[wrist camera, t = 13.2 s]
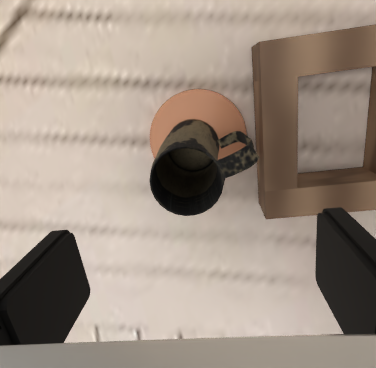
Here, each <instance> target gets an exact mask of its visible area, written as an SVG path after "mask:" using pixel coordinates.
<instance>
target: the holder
mask: <svg viewBox="0 0 376 368" xmlns="http://www.w3.org/2000/svg"><path fill="white" fill-rule="evenodd" d="M252 63H253V85H254V108H255V130H256V152H257V154H258V156H259V157H260V158H259V159H258V161H257V174H258V196H259V204H260V206H261V209H262V211H263V213H264V216H265V218H266V219H274V218H286V217H297V216H309V215H318V213H322V211H323V209H326V208H338V207H341V208H343V209H344V210H345V211H346V212H355V211H366V210H376V25H370V26H363V27H356V28H350V29H343V30H336V31H330V32H323V33H316V34H309V35H303V36H296V37H289V38H283V39H276V40H269V41H263V42H259V43H257V44H256V45H254V46H253V47H252ZM365 67H373V69H372V79H371V90H370V101H369V111H368V122H367V133H366V144H365V154H364V165H363V167H358V168H348V169H338V170H328V171H319V172H309V173H299V174H297V144H298V77H299V76H306V75H314V74H321V73H328V72H336V71H343V70H351V69H358V68H365Z"/></svg>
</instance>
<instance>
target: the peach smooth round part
mask: <svg viewBox="0 0 376 368" xmlns="http://www.w3.org/2000/svg"><path fill="white" fill-rule="evenodd" d="M187 119H198V120H202V121H204V122H206V123H208V124H209V125H210V126H212V127H213V129H214V130H215V131H216V133H217V135H218V138H219V139H221V138H222V137H224V136H226V135H228V134H230V133H232V132H234V131H241V132H242V133H244V134H246V135H247V133H246V127H245V123H244V120H243V118H242V116H241V114H240V112H239V111H238V109H237V108H236V107H235V105H234V104H233V103H232V102H231V101H229V100H228V99H227V98H225V97H224V96H222V95H220V94H219V93H216V92H213V91H210V90H205V89H192V90H187V91H184V92H181V93H179V94H177V95H175V96H173V97H171V98H170V99H169V100H167V101H166V102H165V103H164V104H163V105H162V106H161V108H160V109H159V110H158V112H157V113H156V115H155V117H154V119H153V122H152V125H151V130H150V145H151V149H152V153H153V155H154V158H156V155H157V153H158V151H159V148H160V146H161V145H162V143H163V142H164V140H165V138H166V137H167V136H168V134H169V133H170V131H171V130H172V129H173V127H174V126H175V125H177V124H178V123H180V122H182V121H184V120H187ZM245 146H246V145H245V144H244V143H241V142H236V143H233V144H231V145H228V146H226V147H224V148H222V149H221V147H220V145H219V147H220V148H219V153H218V160H219V159H222V158H224V157H226V156H228V155H231V154H233V153H235V152H236V151H238V150H240V149H242V148H243V147H245Z"/></svg>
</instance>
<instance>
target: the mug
mask: <svg viewBox="0 0 376 368" xmlns="http://www.w3.org/2000/svg"><path fill="white" fill-rule="evenodd" d="M236 142H241V143H244V144H245V145H246V146H245V147H243V148H242V149H240V150H238V151H236V152H235V153H233V154H231V155H228V156H226V157H224V158H222V159H219V160H218V153H219V148H220V147H221V149H222V148H224V147H226V146H228V145H231V144H233V143H236ZM219 145H220V147H219ZM259 158H260V157H259V156H258V154H257V153H256V151H255V150H254V147H253V143H252V140H251V139H250V138H249V137H248V136H247V135H246V134H244V133H242V132H241V131H234V132H232V133H230V134H228V135H226V136H224V137H222V138H221V139H219V138H218V135H217V133H216V131H215V130H214V129H213V127H212V126H210V125H209V124H208V123H206V122H204V121H202V120H198V119H187V120H184V121H182V122H180V123H178V124H177V125H175V126H174V127H173V129H172V130H171V131H170V133H169V134H168V136H167V137H166V138H165V140H164V142H163V143H162V145H161V146H160V148H159V151H158V153H157V155H156V158H155V160H154V162H153V165H152V169H151V175H150V186H151V191H152V193H153V195H154V197H155V199H156V200H157V201H158V203H159V204H160V205H161V206H162V207H164V208H165V209H166V210H168V211H170V212H172V213H175V214H178V215H184V216H190V215H197V214H200V213H203V212H205V211H207V210H208V209H210V208H211V207H212V206H213V205H214V204H215V203H216V202H217V201H218V199H219V197H220V195H221V193H222V189H223V185H224V181H225V178H227V177H230V176H233V175H235V174H237V173H239V172H242V171H243V170H245V169H247V168H249V167H251V166H252V165H254V164H255V163H256V162H257V161H258V159H259Z"/></svg>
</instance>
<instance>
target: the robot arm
mask: <svg viewBox="0 0 376 368" xmlns="http://www.w3.org/2000/svg"><path fill="white" fill-rule="evenodd" d="M316 281H317V284H318V286H319V288H320V290H321V292H322V294H323V296H324V298H325V300H326V301H327V303H328V305H329V307H330V309H331V311H332V313H333V314H334V316H335V318H336V320H337V322H338V324H339V326H340V328H341V329H342V331H343V333H344V334H328V335H293V336H258V337H226V338H197V339H167V340H138V341H110V342H80V343H64V341H65V339H66V337H67V336H68V334H69V332H70V330H71V328H72V327H73V325H74V323H75V321H76V320H77V318H78V316H79V314H80V312H81V311H82V309H83V307H84V305H85V304H86V302H87V300H88V298H89V296H90V286H89V283H88V280H87V276H86V273H85V270H84V266H83V263H82V260H81V257H80V253H79V250H78V247H77V243H76V240H75V237H74V235H73V234H72V233H70V232H69V231H68V230H59V231H52V232H50V233H49V234H48V235H47V236H46V237H45V238H44V239H43V240H42V241H41V242H39V243H38V244H37V245H36V246H35V247H34V248H33V249H32V250H31V251H30V252H29V253H28V254H27V255H26V256H25V257H23V258H22V259H21V260H20V261H19V262H18V263H17V264H16V265H15V266H14V267H13V268H12V269H11V270H10V271H9V272H7V273H6V274H5V275H4V276H3V277H2V278H1V279H0V368H376V239H375V238H374V237H373V236H372V235H371V234H370V233H369V232H367V231H366V230H365V229H364V228H363V227H362V226H361V225H360V224H359V223H358V222H357V221H356V220H355V219H354V218H353V217H351V216H350V215H349V214H348V213H347V212H346V211H345V210H344V209H343V208H341V207H338V208H326V209H323V211H322V213H318V215H317V241H316Z"/></svg>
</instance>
